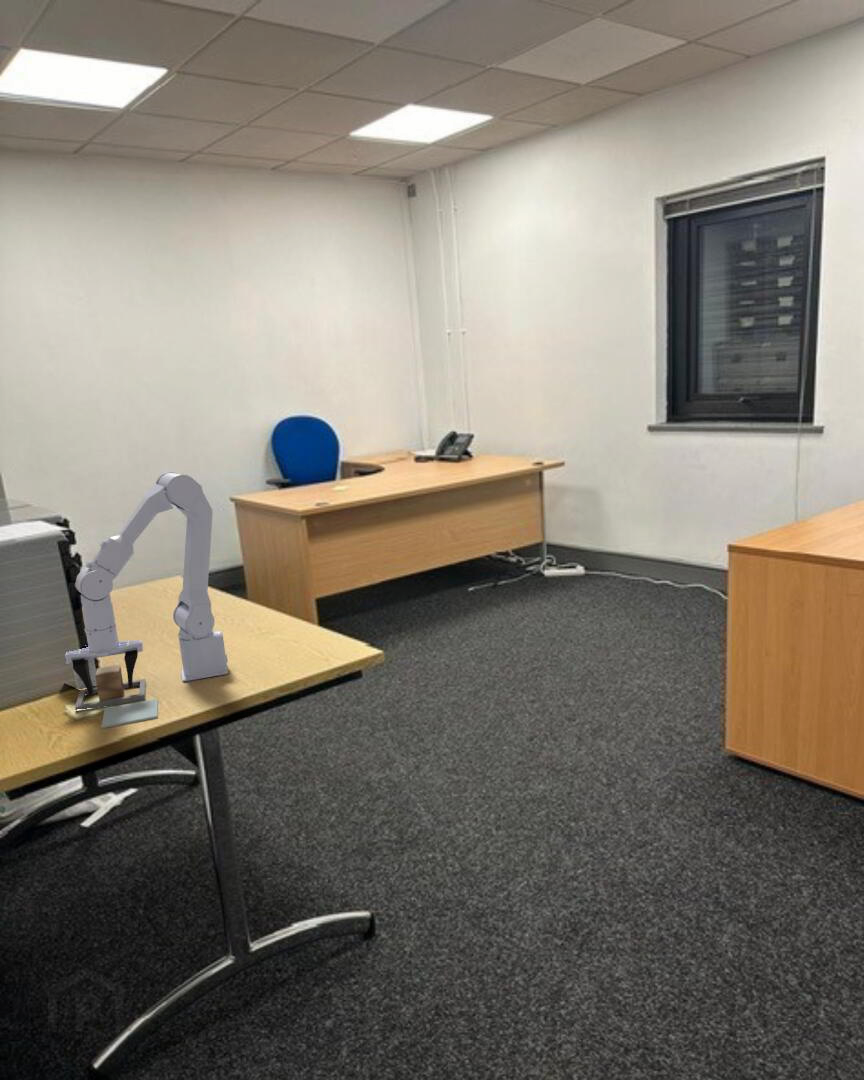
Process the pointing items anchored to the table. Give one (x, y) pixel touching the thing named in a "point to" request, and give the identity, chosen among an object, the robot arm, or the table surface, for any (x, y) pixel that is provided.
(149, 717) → the mat
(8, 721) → the table surface
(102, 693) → the walnut block
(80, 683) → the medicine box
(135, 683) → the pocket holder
